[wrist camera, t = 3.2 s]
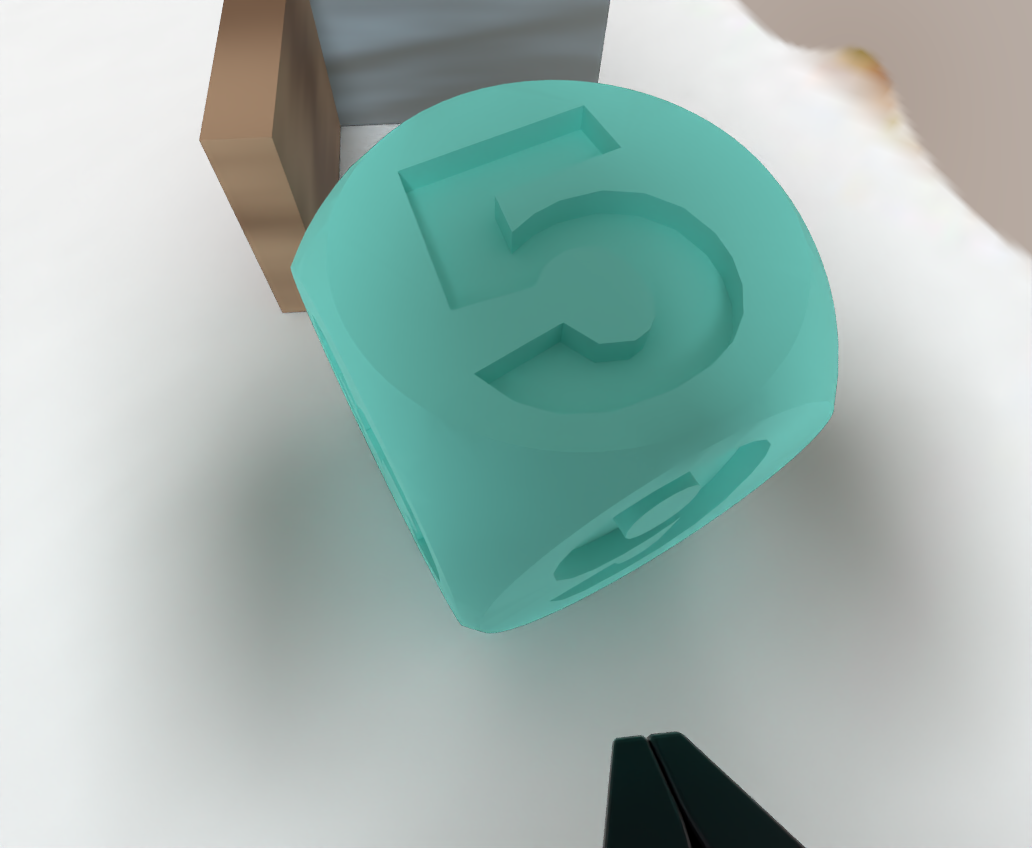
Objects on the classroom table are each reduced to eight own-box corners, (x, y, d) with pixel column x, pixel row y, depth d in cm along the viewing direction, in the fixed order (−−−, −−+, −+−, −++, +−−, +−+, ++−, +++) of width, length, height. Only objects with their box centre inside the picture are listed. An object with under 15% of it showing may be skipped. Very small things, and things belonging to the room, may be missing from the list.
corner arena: (633, 290, 20) (683, 118, 14) (282, 312, 19) (199, 140, 14) (586, 87, 24) (612, -103, 19) (299, 99, 23) (240, -96, 18)
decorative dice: (587, 288, 20) (637, 27, 13) (749, 505, 17) (936, 321, 10) (342, 395, 18) (241, 158, 11) (474, 662, 15) (455, 577, 8)
